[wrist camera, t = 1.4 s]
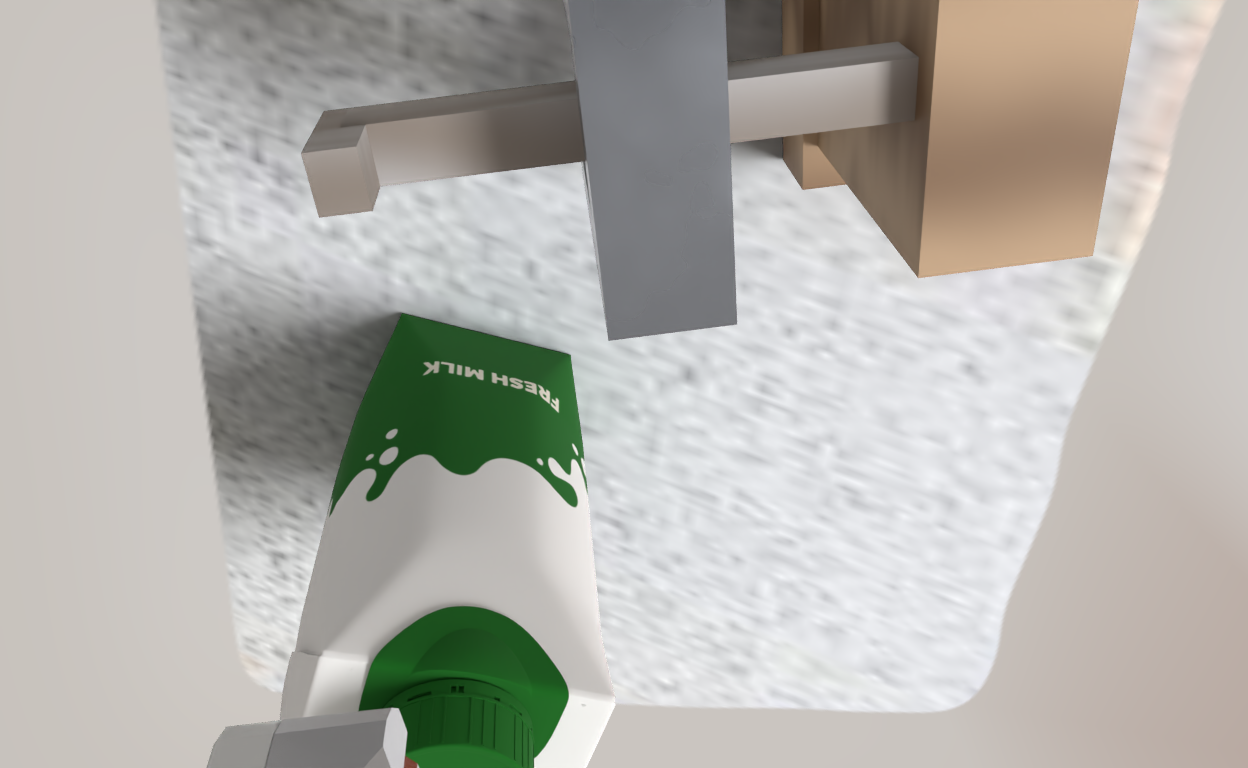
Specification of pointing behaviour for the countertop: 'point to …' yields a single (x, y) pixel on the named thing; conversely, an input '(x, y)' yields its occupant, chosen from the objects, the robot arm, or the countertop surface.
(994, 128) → the wooden peg hook block
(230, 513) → the countertop surface
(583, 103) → the grey arched block
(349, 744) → the robot arm
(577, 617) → the milk carton
